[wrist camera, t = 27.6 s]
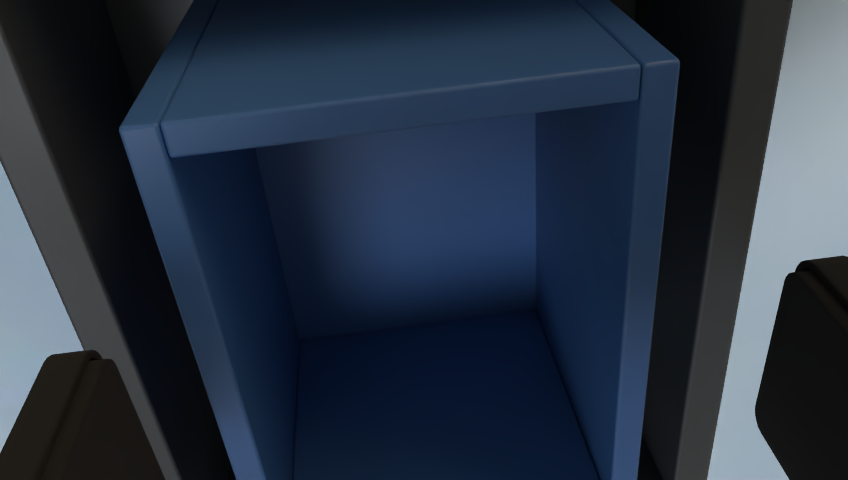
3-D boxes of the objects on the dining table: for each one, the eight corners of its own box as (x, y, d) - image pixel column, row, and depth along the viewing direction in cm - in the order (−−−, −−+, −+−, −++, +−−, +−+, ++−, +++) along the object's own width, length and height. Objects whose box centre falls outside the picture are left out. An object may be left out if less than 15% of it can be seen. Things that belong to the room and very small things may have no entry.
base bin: (12, -194, 13) (-150, -171, 9) (679, -263, 14) (844, -276, 9) (219, 424, 22) (190, 594, 17) (627, 367, 22) (701, 519, 18)
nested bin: (197, -9, 14) (115, 128, 9) (553, -50, 15) (682, 59, 9) (284, 344, 19) (265, 571, 14) (550, 308, 20) (634, 517, 14)
